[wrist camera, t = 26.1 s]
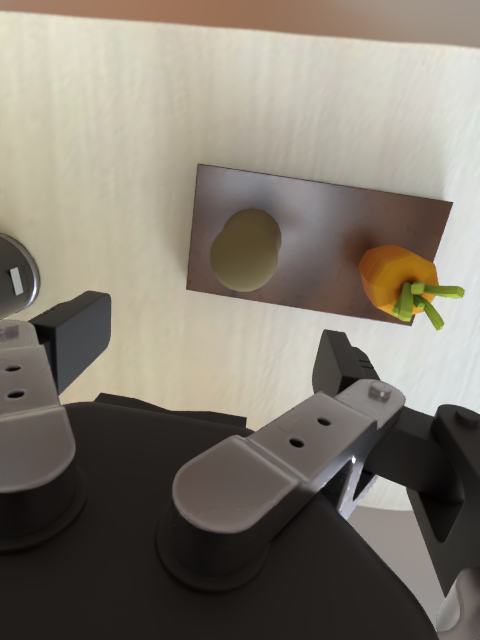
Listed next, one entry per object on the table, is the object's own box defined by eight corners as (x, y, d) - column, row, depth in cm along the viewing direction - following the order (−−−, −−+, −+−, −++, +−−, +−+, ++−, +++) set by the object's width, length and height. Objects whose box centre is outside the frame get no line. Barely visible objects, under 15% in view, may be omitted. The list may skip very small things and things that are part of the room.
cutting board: (189, 284, 41) (185, 289, 39) (201, 164, 36) (197, 163, 34) (405, 320, 40) (411, 326, 38) (444, 201, 35) (453, 202, 34)
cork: (249, 194, 35) (239, 199, 25) (294, 238, 36) (302, 260, 26) (209, 241, 37) (183, 263, 27) (252, 281, 38) (244, 318, 28)
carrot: (401, 234, 35) (484, 269, 21) (390, 285, 37) (461, 348, 23) (348, 231, 35) (396, 262, 21) (340, 280, 37) (379, 340, 23)
